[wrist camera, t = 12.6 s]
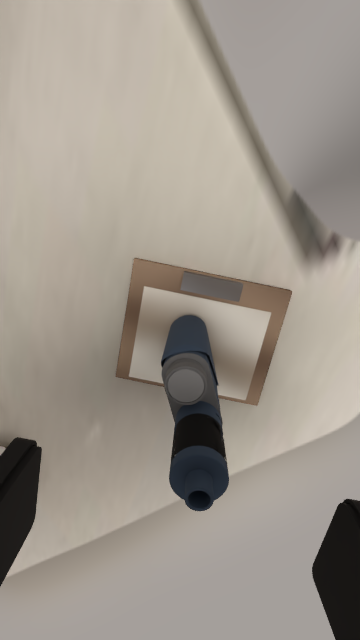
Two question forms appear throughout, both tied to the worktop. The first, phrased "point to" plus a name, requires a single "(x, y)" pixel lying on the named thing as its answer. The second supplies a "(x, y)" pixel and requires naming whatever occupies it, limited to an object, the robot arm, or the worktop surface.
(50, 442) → the worktop surface
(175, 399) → the vaping device
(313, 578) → the robot arm
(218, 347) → the clipboard
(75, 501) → the worktop surface
